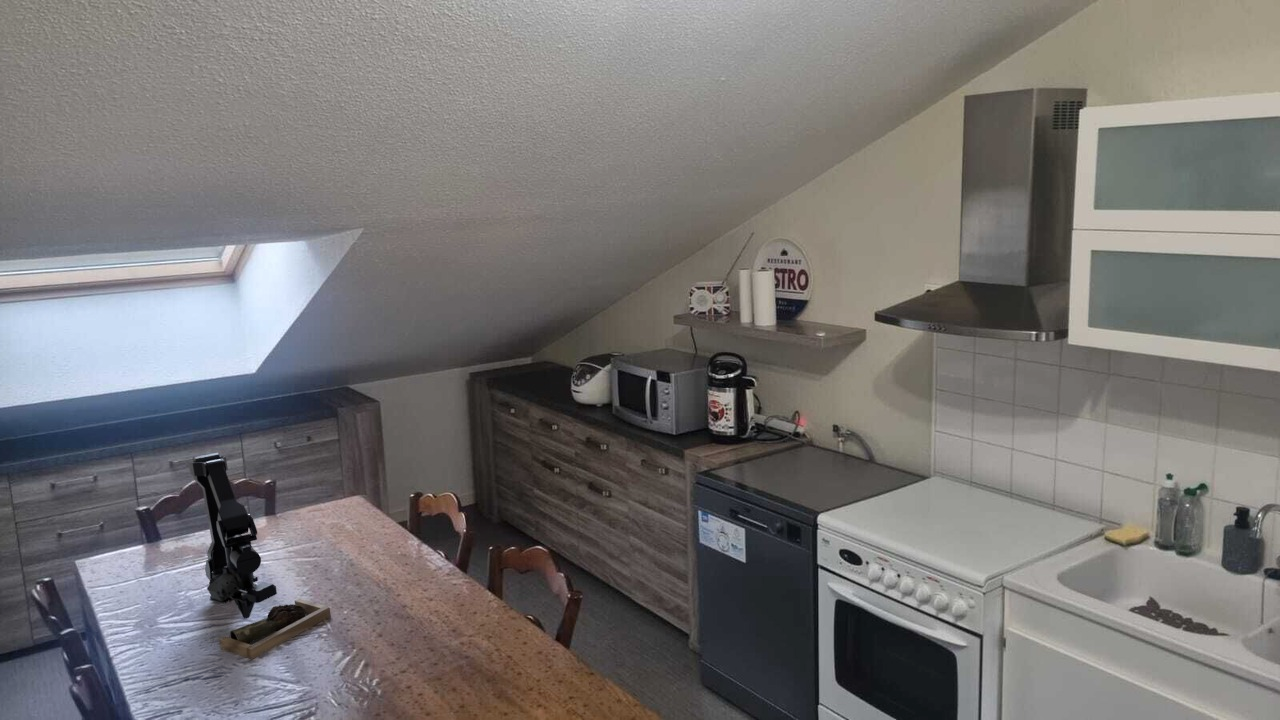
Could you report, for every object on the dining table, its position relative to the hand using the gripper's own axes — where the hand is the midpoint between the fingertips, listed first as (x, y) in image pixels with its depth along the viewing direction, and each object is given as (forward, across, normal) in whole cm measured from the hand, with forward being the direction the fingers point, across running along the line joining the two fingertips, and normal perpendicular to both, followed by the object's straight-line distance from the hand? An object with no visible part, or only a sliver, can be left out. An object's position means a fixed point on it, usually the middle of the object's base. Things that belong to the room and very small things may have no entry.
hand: (246, 617), depth 242 cm
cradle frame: (+1, +12, 0) cm, 12 cm away
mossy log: (+2, +10, -1) cm, 10 cm away
